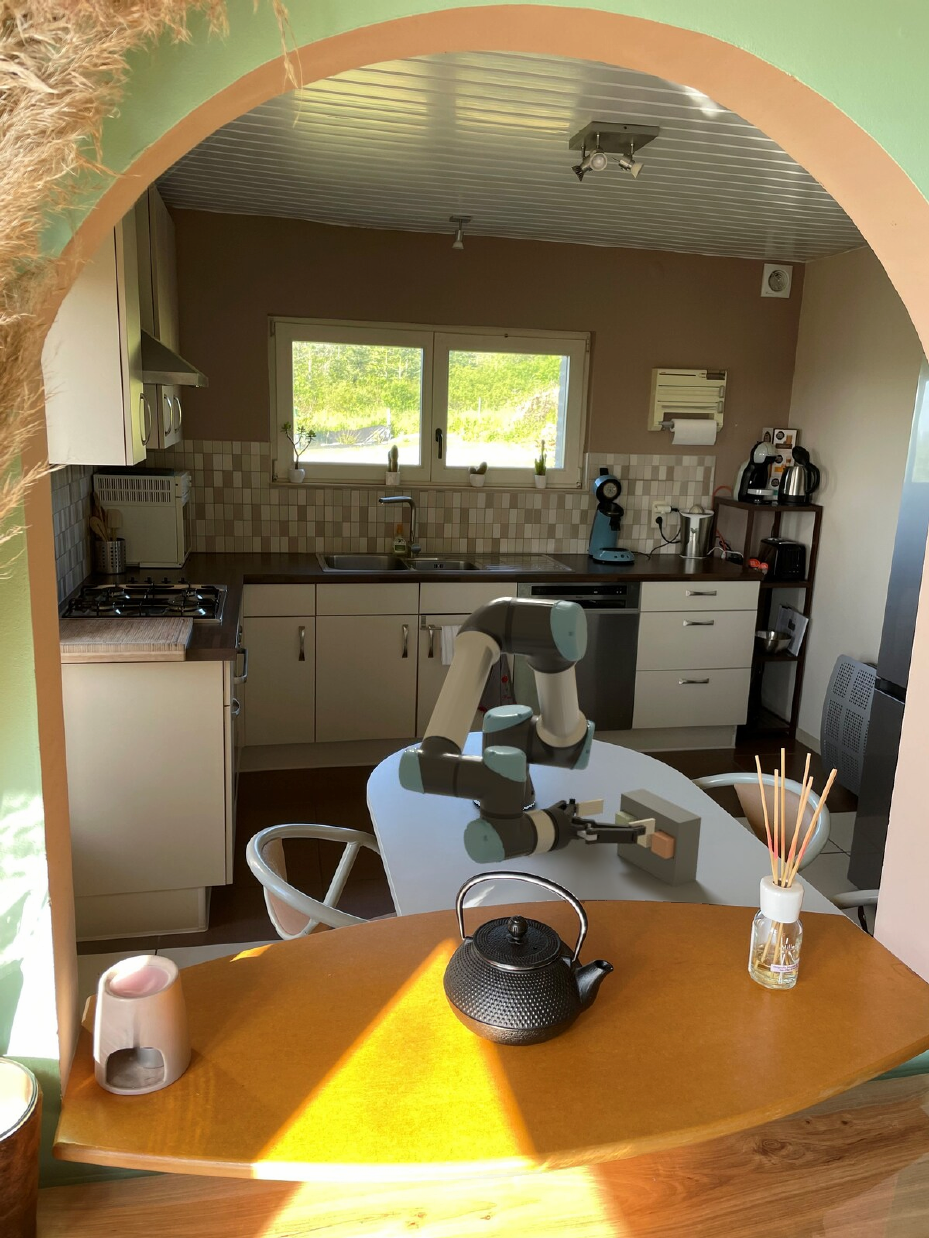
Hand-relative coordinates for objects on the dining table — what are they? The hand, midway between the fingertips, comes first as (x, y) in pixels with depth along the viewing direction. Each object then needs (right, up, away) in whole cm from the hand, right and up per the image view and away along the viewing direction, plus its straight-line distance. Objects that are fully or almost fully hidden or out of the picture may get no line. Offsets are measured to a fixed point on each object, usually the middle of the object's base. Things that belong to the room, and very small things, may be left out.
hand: (626, 815), depth 178 cm
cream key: (+6, -8, +11) cm, 14 cm away
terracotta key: (+9, -9, +6) cm, 14 cm away
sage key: (+3, -7, +15) cm, 17 cm away
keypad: (+8, -14, +14) cm, 21 cm away
